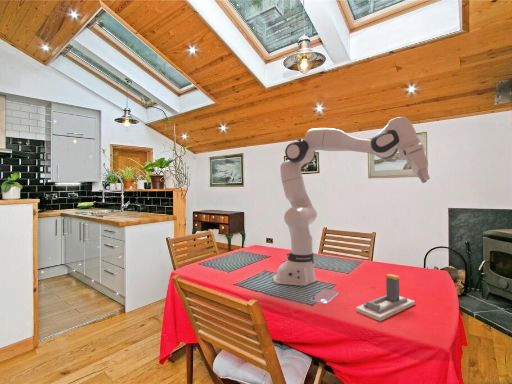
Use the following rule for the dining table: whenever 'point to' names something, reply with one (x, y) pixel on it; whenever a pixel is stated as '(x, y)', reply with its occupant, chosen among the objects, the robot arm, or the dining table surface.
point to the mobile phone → (324, 296)
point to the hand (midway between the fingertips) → (426, 181)
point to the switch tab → (392, 287)
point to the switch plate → (384, 307)
